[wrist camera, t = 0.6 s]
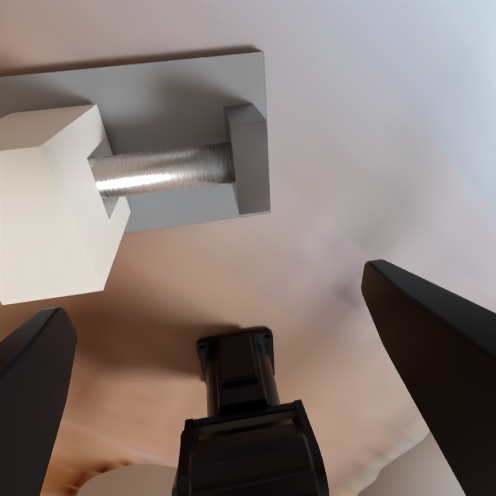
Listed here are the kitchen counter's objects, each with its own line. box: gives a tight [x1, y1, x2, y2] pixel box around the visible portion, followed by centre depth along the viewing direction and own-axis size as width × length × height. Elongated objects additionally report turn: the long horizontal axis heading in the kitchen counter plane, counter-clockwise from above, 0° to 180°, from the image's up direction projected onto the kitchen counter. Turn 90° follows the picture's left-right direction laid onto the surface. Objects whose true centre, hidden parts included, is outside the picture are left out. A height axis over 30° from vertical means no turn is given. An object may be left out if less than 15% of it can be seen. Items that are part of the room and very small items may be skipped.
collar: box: [0, 104, 131, 305], centre depth 15 cm, size 4×6×7 cm, turn 4°
